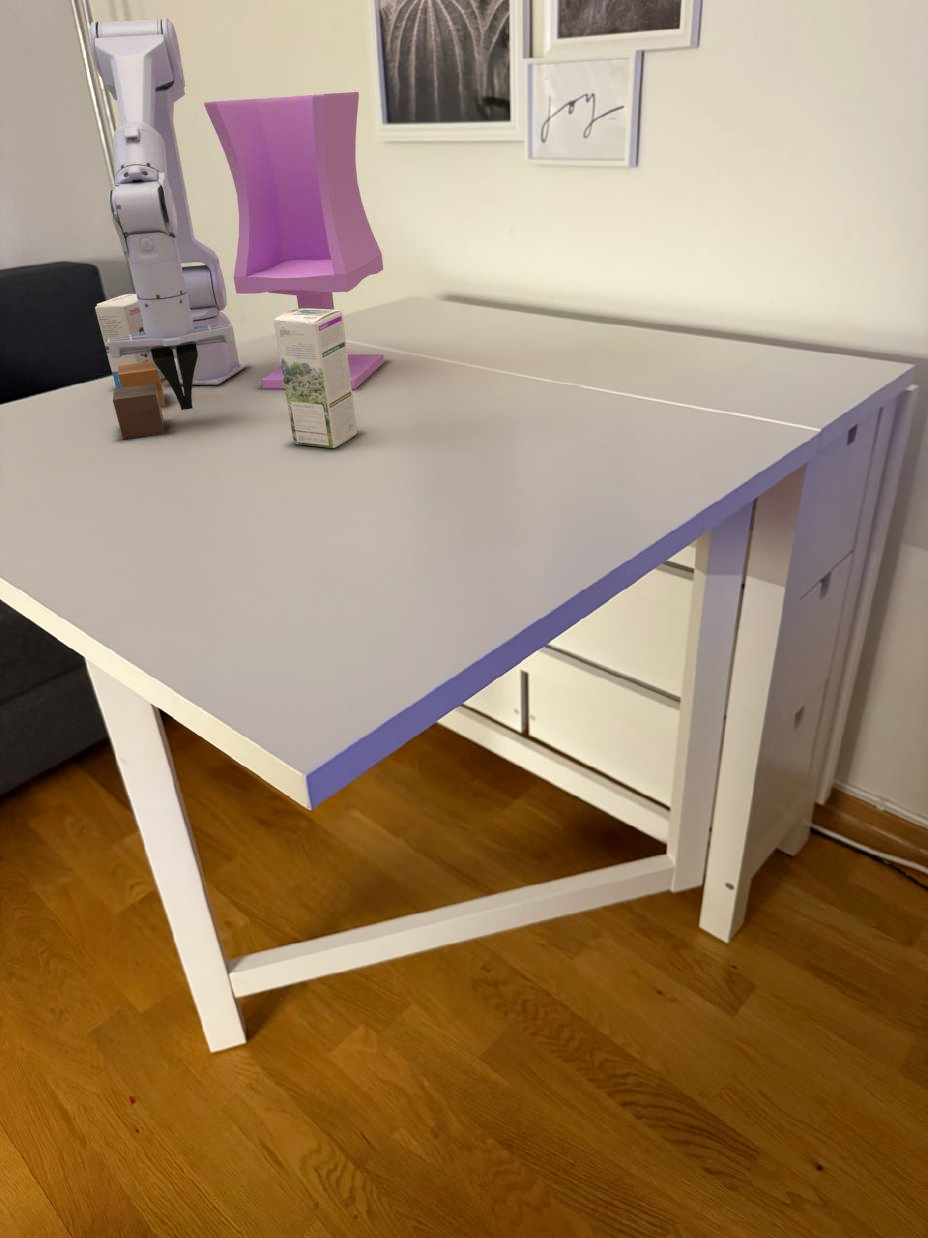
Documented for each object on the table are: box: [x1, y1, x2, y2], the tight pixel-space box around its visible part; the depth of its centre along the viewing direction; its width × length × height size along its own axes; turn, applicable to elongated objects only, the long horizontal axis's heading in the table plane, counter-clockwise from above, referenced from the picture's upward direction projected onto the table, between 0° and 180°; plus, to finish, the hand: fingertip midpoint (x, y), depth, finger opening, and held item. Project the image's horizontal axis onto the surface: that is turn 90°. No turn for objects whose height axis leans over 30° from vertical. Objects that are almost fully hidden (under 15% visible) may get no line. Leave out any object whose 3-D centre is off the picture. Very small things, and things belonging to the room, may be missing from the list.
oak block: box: [118, 361, 166, 408], centre depth 121 cm, size 5×5×5 cm
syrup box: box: [273, 308, 358, 449], centre depth 102 cm, size 6×6×14 cm
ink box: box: [94, 293, 166, 389], centre depth 130 cm, size 9×5×12 cm, turn 168°
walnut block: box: [112, 384, 166, 440], centre depth 111 cm, size 5×5×5 cm
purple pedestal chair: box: [203, 91, 385, 390], centre depth 121 cm, size 16×16×35 cm
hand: (186, 407), depth 113 cm, fingers closed
